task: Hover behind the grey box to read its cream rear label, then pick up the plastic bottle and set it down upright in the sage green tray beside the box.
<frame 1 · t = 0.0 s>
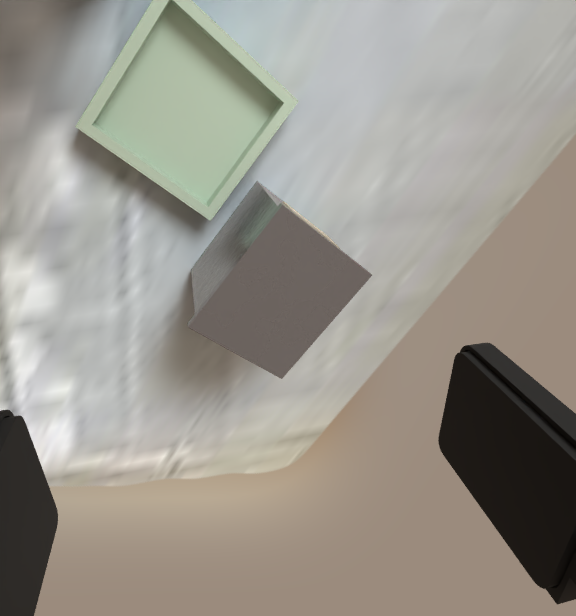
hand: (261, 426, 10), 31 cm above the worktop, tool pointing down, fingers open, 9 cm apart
tray: (190, 111, 35), on the worktop
grey box: (258, 251, 41), on the worktop
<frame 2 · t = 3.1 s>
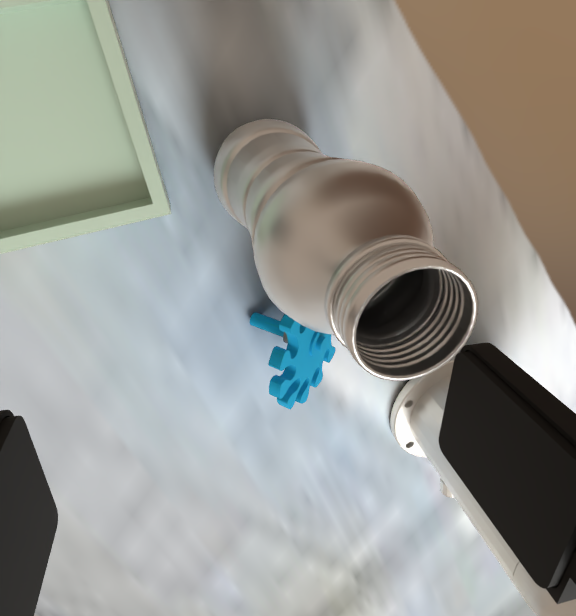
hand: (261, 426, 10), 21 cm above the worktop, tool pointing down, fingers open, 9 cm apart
plastic bottle: (261, 168, 29), on the worktop
gear: (296, 306, 34), on the worktop
tray: (33, 125, 24), on the worktop
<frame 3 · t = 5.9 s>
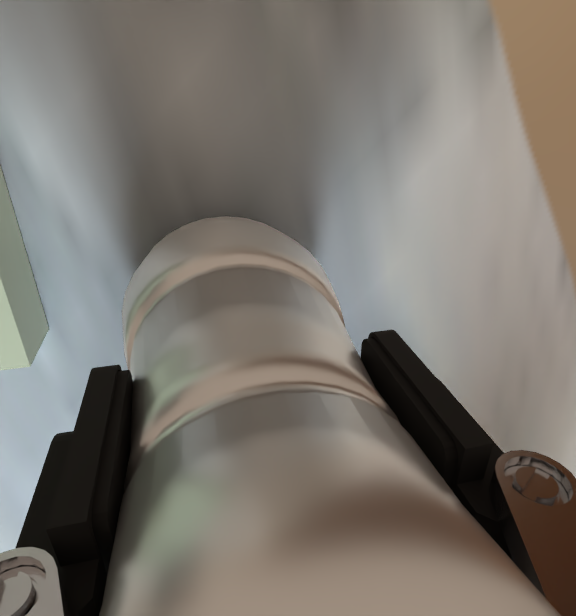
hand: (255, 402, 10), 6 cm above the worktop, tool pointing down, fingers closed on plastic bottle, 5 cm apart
plastic bottle: (226, 287, 16), on the worktop, touching gripper
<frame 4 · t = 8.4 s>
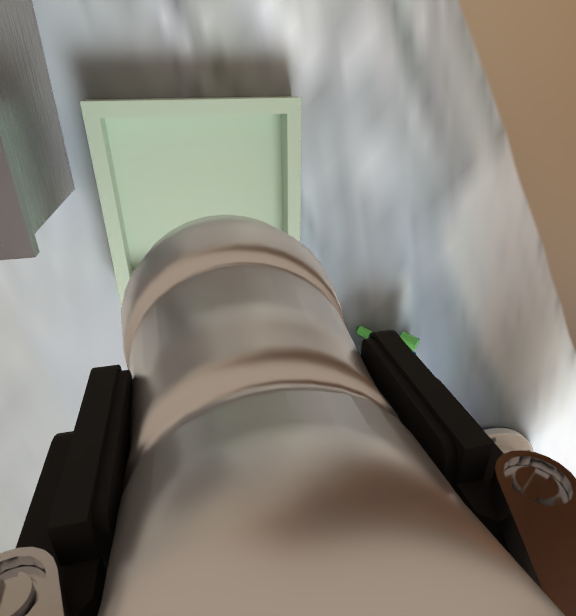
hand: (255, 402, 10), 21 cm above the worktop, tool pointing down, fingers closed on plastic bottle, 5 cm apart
plastic bottle: (226, 286, 16), point 14 cm above the worktop, touching gripper
gear: (364, 369, 38), on the worktop
tray: (203, 198, 28), on the worktop
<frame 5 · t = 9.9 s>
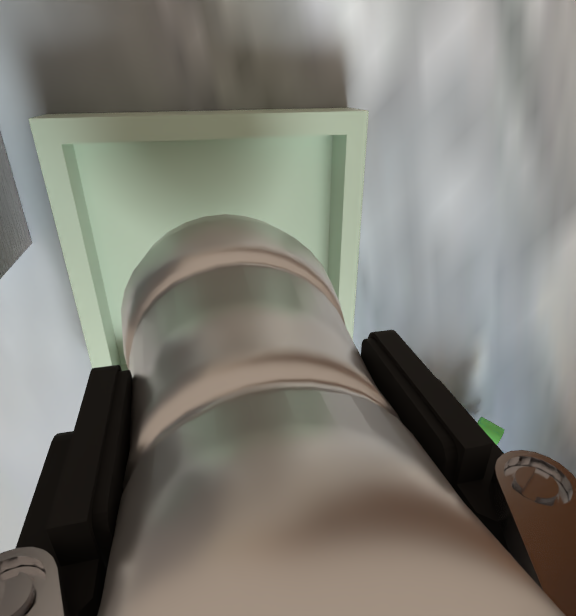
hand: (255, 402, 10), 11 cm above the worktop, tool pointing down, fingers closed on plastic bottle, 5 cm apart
plastic bottle: (226, 286, 16), point 4 cm above the worktop, touching gripper
gear: (418, 452, 30), on the worktop
tray: (218, 251, 20), on the worktop
when the fingers open (8 cm above the worktop, at t = 10.9 s): plastic bottle moves 1 cm, resting on tray.
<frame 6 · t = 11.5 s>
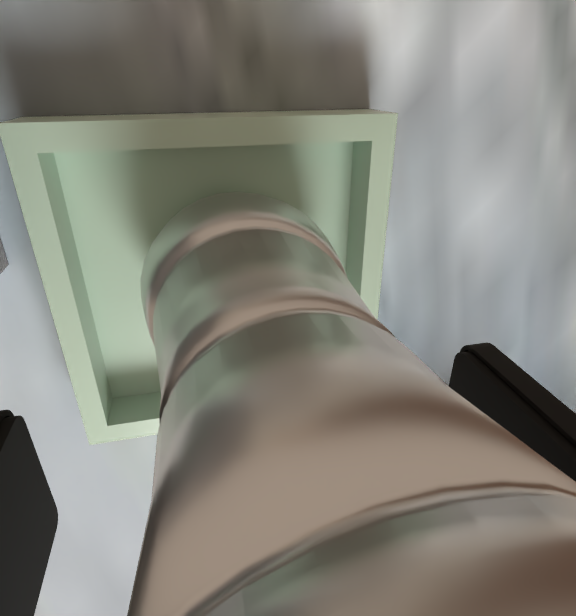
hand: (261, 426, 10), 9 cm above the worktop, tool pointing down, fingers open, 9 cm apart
plastic bottle: (235, 264, 17), resting on tray
tray: (222, 271, 18), on the worktop
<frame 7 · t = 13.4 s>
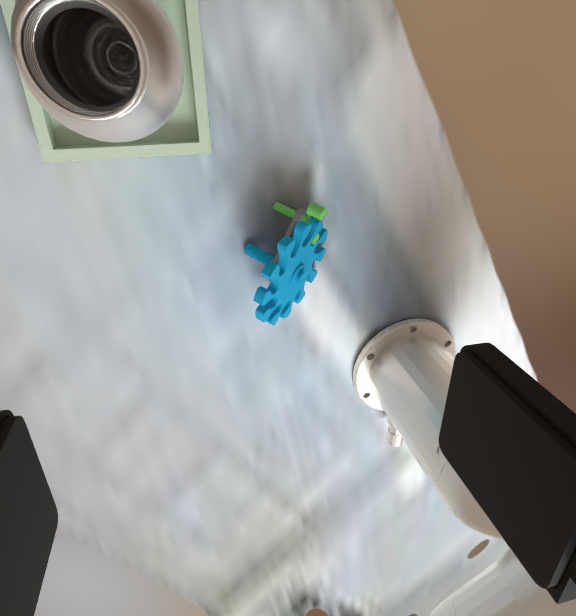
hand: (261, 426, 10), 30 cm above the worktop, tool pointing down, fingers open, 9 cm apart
plastic bottle: (122, 58, 31), resting on tray
gear: (283, 250, 41), on the worktop
tray: (117, 65, 31), on the worktop
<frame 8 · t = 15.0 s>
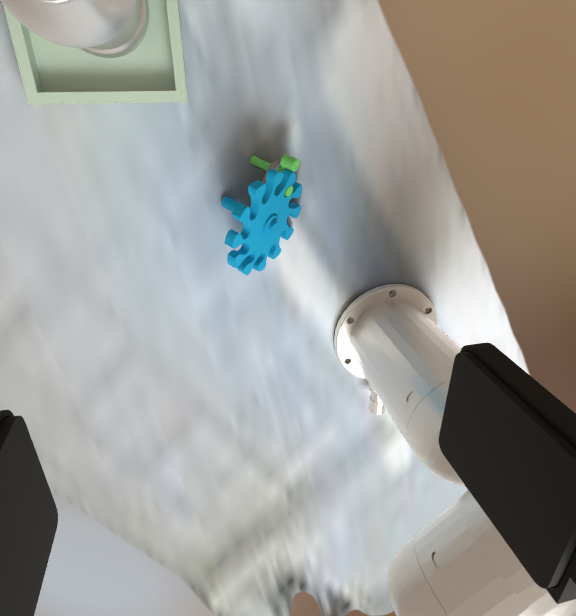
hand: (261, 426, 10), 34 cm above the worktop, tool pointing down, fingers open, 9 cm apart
plastic bottle: (104, 9, 33), resting on tray
gear: (260, 206, 43), on the worktop
tray: (99, 16, 33), on the worktop
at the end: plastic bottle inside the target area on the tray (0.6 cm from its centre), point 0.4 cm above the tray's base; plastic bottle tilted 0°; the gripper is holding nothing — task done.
